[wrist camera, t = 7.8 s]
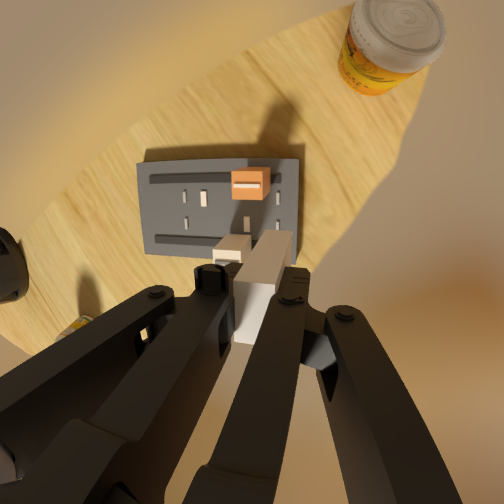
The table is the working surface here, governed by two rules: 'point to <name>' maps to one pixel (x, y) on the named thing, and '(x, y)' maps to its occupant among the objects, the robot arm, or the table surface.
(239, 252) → the cream fader
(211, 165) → the console
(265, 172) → the orange fader
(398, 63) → the beer can
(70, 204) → the table surface
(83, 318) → the supplement bottle
